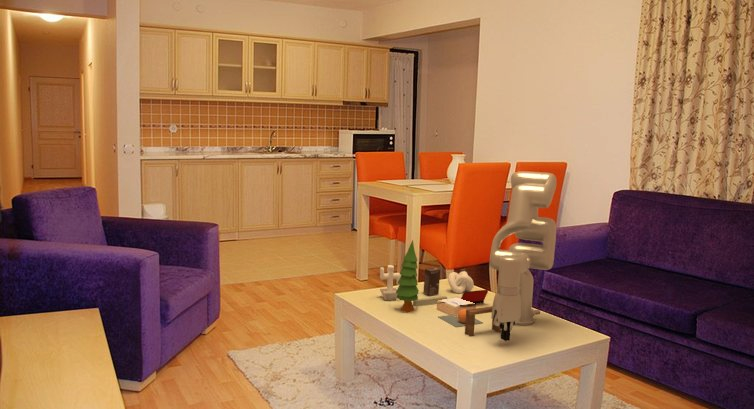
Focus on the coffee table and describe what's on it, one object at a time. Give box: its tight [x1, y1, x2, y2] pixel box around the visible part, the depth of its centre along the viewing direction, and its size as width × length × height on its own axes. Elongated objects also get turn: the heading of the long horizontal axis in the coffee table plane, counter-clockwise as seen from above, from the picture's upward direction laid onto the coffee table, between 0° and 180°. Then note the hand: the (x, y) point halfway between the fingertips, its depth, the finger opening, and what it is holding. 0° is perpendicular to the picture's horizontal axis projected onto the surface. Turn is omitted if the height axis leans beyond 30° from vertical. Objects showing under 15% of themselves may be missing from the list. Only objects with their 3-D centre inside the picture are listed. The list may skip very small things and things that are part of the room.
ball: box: [457, 308, 468, 323], centre depth 238 cm, size 6×6×6 cm
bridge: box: [464, 305, 501, 337], centre depth 228 cm, size 3×14×9 cm, turn 117°
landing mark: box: [437, 314, 484, 328], centre depth 242 cm, size 13×13×1 cm
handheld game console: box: [460, 289, 489, 305], centre depth 264 cm, size 12×11×7 cm
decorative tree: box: [396, 239, 419, 313], centre depth 250 cm, size 10×9×30 cm
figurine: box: [379, 264, 401, 301], centre depth 267 cm, size 7×9×15 cm
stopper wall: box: [412, 295, 448, 308], centre depth 262 cm, size 16×2×2 cm, turn 117°
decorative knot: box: [447, 270, 475, 294], centre depth 282 cm, size 11×12×9 cm
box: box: [422, 267, 441, 297], centre depth 275 cm, size 6×4×12 cm
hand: (505, 339), depth 217 cm, fingers closed
